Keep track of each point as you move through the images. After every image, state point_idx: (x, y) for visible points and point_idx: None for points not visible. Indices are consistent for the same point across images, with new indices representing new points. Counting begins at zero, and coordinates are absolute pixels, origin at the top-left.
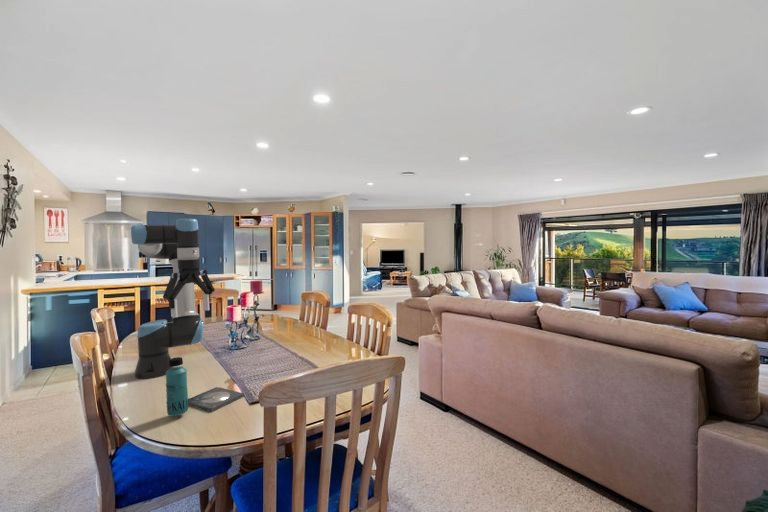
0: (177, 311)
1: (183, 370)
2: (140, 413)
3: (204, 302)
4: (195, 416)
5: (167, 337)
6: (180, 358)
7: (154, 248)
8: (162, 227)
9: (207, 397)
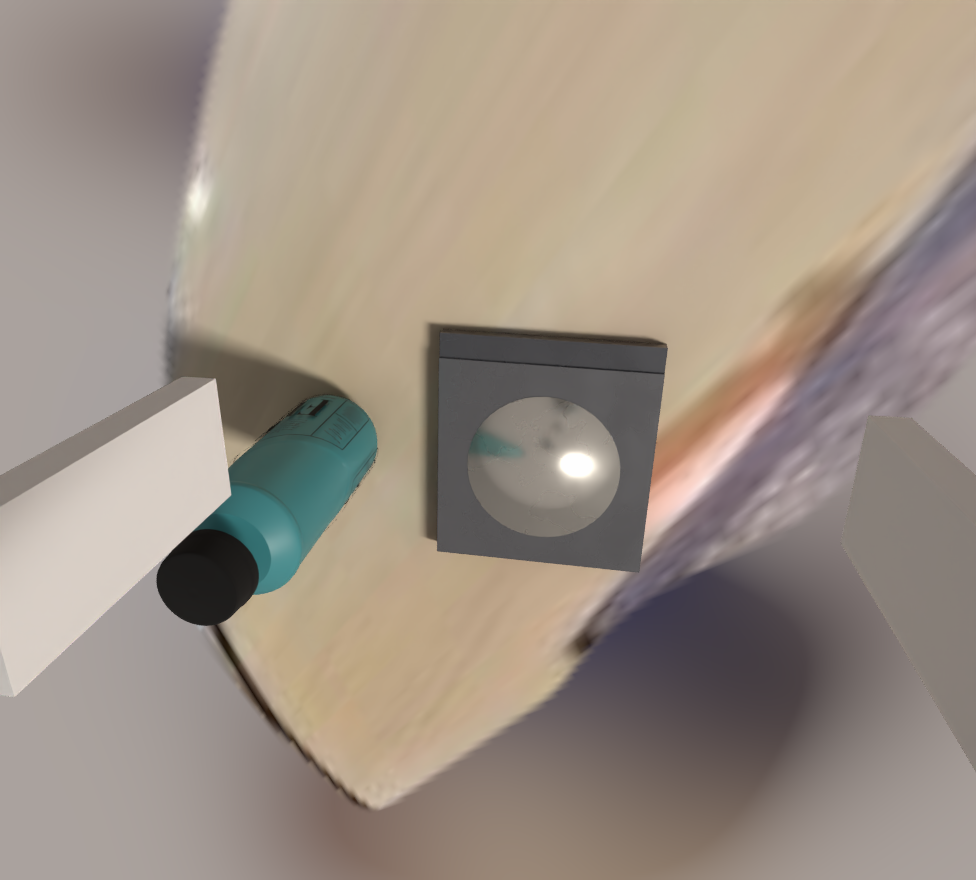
0: (179, 542)
1: (257, 592)
2: (263, 212)
3: (926, 540)
4: (378, 506)
5: None
6: (216, 617)
7: None
8: None
9: (520, 431)
